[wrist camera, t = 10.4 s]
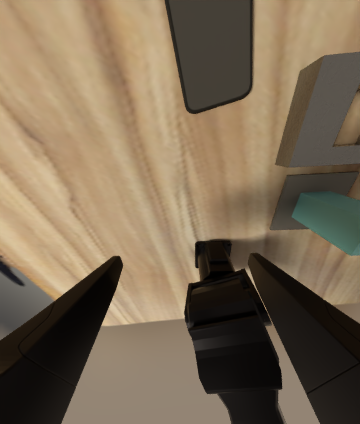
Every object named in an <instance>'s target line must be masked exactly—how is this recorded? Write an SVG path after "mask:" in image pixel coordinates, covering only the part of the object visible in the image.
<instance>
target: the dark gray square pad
mask: <svg viewBox="0 0 360 424" xmlns="http://www.w3.org/2000/svg"><path fill="white" fill-rule="evenodd" d="M359 173H360V172H339V173H320V174H301V175H287V177H286V180H285V183H284V186H283V189H282V192H281V195H280V198H279V201H278V205H277V208H276V211H275V214H274V217H273V220H272V223H271V226H270V230H295V229H309V228H308V227H306V226H305V225H303V224H301V223H300V222H298V221H297V220H295V219H294V218H292V214H293V212H294V209H295V207H296V204H297V202H298V199H299V196H300V194H301V193H308V192H327V191H331V192H334V193H337V194H341V195H344V196H346V195H347V194H348V192H349V190H350V188H351V187H352V185H353V183H354V181H355V180H356V178H357V176H358V174H359Z"/></svg>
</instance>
